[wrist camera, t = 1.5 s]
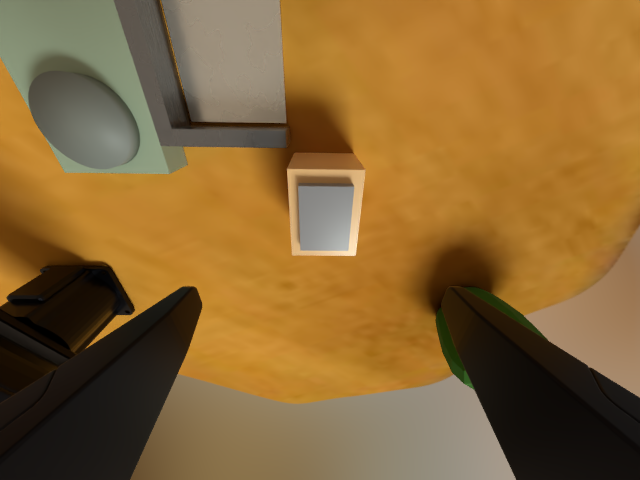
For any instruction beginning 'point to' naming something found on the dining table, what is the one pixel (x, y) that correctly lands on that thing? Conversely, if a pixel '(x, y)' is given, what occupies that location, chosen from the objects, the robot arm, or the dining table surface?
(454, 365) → the bell pepper
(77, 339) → the robot arm
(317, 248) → the tan and grey block
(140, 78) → the bracket
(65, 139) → the sage green knobbed slab
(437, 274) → the dining table surface
